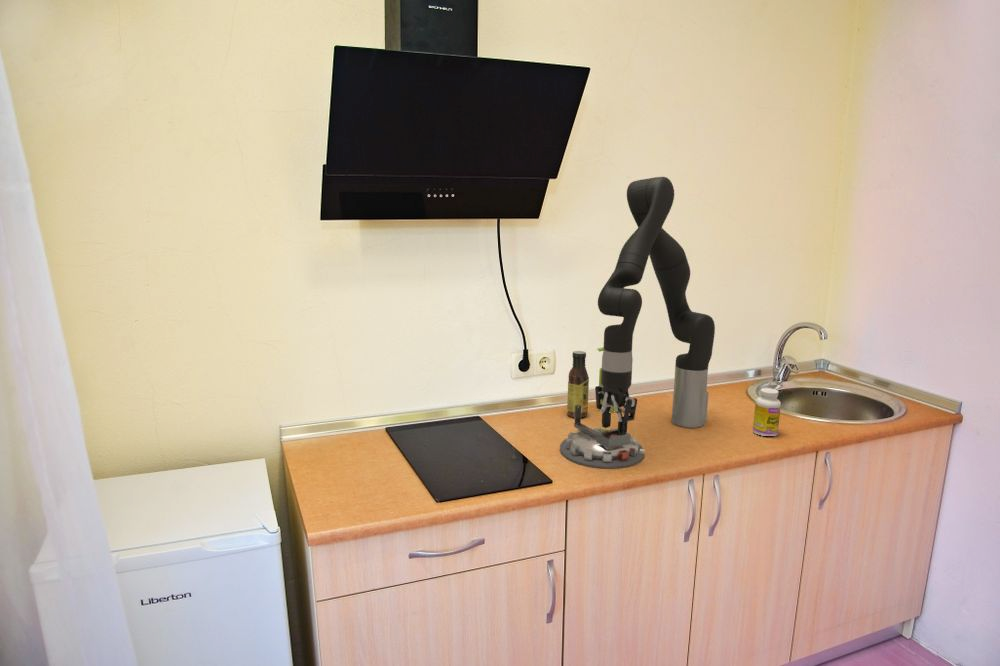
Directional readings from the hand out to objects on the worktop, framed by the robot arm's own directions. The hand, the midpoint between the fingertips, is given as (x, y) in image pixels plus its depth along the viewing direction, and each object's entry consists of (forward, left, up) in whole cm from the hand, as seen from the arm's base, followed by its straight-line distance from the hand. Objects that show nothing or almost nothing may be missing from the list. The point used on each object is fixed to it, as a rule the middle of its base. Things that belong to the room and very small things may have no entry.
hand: (613, 430), depth 165 cm
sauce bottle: (-11, -30, -8) cm, 33 cm away
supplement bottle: (-49, +8, -8) cm, 50 cm away
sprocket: (0, -6, -6) cm, 8 cm away
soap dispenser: (-22, -30, -8) cm, 38 cm away
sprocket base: (0, -4, -7) cm, 9 cm away
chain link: (0, 0, -3) cm, 3 cm away
